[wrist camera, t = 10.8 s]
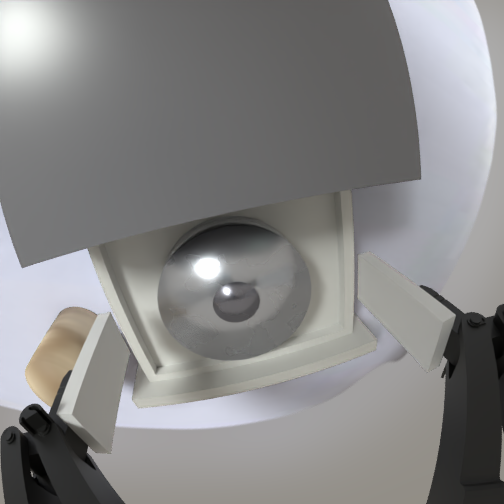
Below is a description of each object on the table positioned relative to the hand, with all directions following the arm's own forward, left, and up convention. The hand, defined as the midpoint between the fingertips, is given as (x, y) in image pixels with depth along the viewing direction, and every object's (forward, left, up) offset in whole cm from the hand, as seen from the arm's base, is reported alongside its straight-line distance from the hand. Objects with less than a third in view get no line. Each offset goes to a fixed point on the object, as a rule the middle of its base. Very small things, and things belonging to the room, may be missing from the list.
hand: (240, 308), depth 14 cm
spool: (-12, -3, -4) cm, 13 cm away
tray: (0, 0, -4) cm, 4 cm away
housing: (0, +12, -4) cm, 13 cm away
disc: (0, 0, -2) cm, 3 cm away
